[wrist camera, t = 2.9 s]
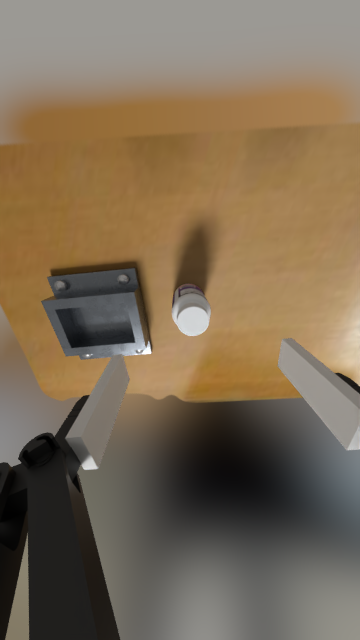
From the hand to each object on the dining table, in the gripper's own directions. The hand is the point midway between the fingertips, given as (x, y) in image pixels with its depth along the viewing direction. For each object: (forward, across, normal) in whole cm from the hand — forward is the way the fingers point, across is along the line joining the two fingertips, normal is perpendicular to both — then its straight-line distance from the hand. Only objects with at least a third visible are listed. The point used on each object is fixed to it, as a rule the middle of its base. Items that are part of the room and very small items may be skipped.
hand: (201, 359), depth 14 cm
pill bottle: (+17, 0, 0) cm, 17 cm away
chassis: (+17, -15, -2) cm, 23 cm away
